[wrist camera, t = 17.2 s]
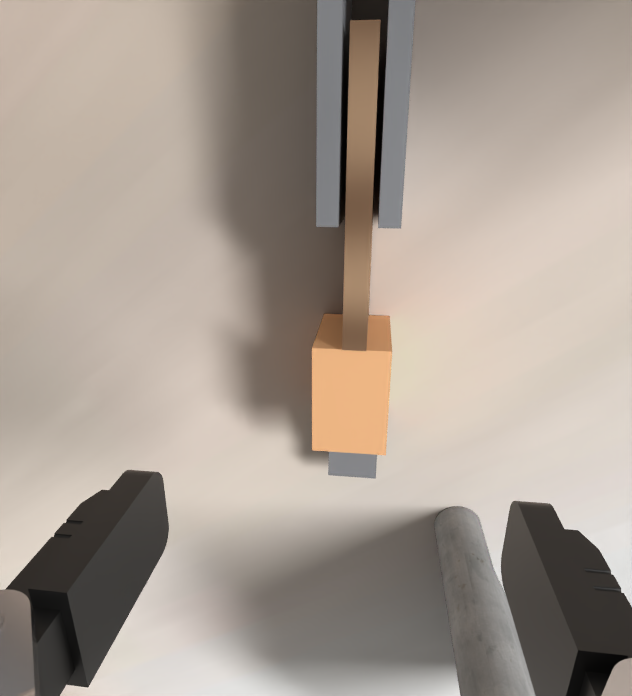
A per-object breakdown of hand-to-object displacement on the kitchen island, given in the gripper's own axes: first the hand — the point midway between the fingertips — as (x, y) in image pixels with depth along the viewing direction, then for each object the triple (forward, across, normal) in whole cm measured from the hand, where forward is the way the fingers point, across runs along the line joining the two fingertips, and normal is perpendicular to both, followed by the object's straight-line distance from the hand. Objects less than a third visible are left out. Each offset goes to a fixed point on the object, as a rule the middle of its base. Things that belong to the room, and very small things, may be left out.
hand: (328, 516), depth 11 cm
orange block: (+20, 0, +4) cm, 20 cm away
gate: (+20, 0, -6) cm, 21 cm away
